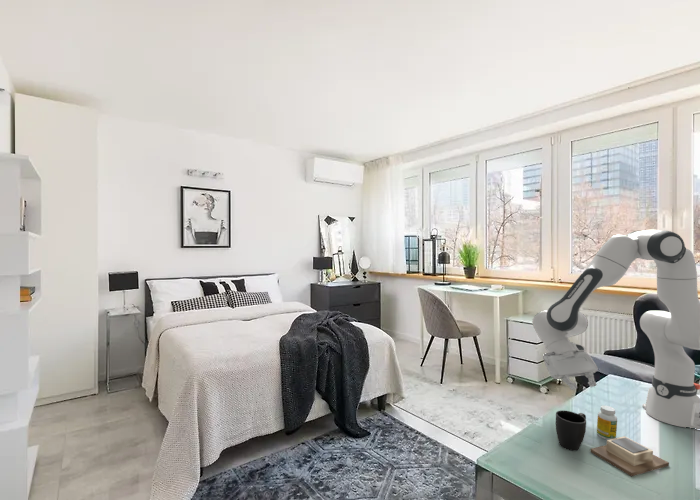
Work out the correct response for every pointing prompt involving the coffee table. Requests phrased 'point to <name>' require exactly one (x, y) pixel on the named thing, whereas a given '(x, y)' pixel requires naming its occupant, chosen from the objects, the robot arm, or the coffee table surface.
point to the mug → (570, 429)
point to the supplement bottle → (607, 423)
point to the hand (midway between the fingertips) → (584, 387)
